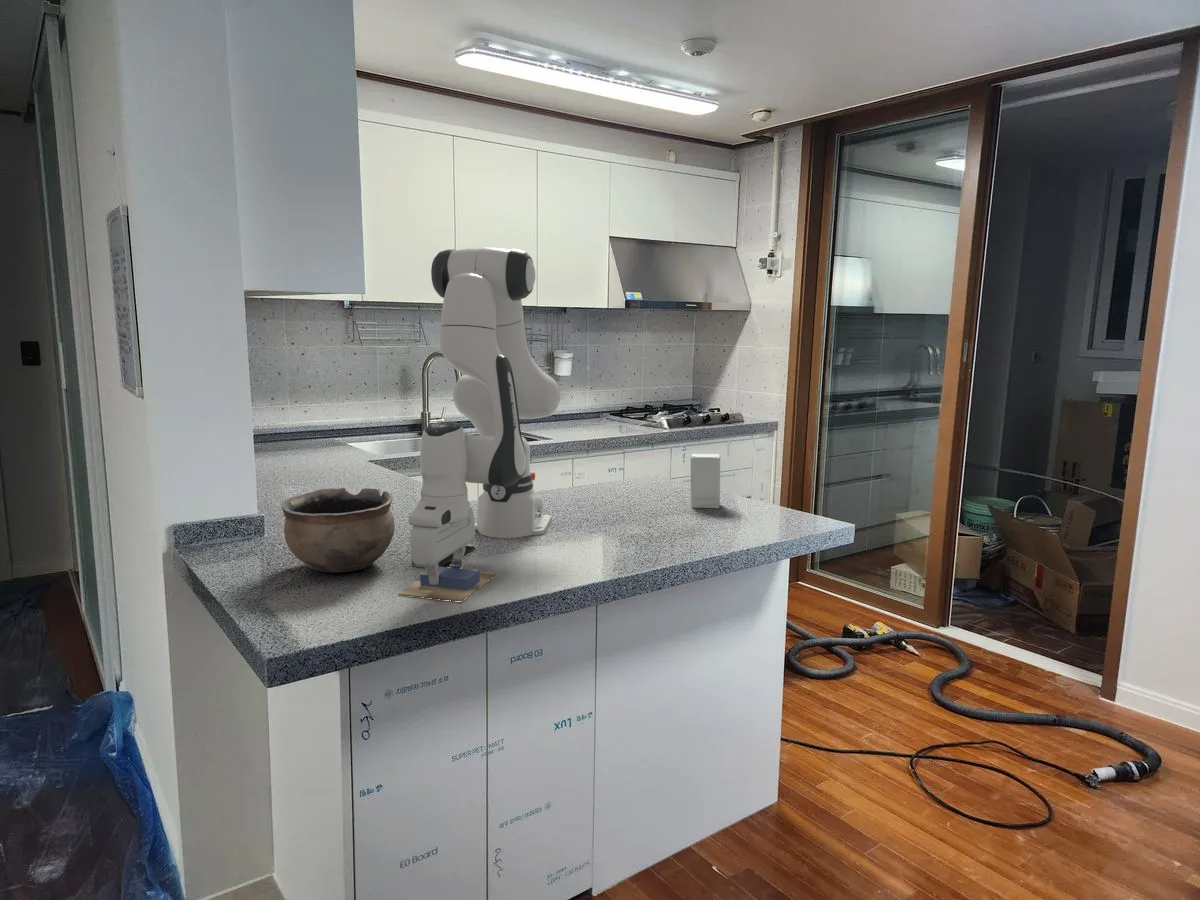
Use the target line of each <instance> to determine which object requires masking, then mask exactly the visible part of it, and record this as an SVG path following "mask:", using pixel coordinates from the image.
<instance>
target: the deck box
mask: <svg viewBox="0 0 1200 900" xmlns="http://www.w3.org/2000/svg"><path fill="white" fill-rule="evenodd" d="M437 570H438V573H439V574H441V581H440V582H439V583H438V584H436V585H433V584H430V583H429V575H428V573H427V571H426V570H425V571H424V572H422V573H420V574H419V575H420V579H419V580H420V585H422V586H431V587H440V588H449V589H458V590H467V591H468V590H469V589H470V588H472V587H473V586H474V585H476V584H477V583H478V582H480V572H481V571H480V570H474V569H466V568H460V569H458V568H452V567H450V566H448V567H439V566H438V567H437Z"/></svg>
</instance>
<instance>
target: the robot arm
mask: <svg viewBox="0 0 1200 900" xmlns="http://www.w3.org/2000/svg"><path fill="white" fill-rule="evenodd" d="M430 270H431V272H430V273H431V275H430V276H431V278H430V279H431V282H432V283H431V284H432V287H433V288H434V290H435V291H434V292H436V293H437V295H438V296H440V298H442V299H443V301H442V308H441V316H440V317H441V318H440V331H439V334H440V335H439V345H440V351H441V354H442V356H443V358H444V360H445V361H446V362H447V364H449V365H450V366H451V367H452V368H453V369H454V370H456V371H458V372H459V373H462V374H464V375H461V376H460V377H459V378H458V380H457V381H456V382H455V384H454V388H453V392H452V398H453V399H452V400H453V403H454V405H455V407H456V409H457V410H458V412H459V413H460V414H461V415H462V416H464V417H465V418H466V419H468V421H470V422H471V424H472V425H473V427H474V428H475V429H476V431H477V433H478V435H475V434H474V435H473V434H468V433H466V432H464V429H463V425H462V424H461V423H458V422H455V421H440V422H433V423H431V424H429V425H427V426H426V427H424V429H423V431H422V435H421V440H420V453H419V467H420V469H419V471H420V475H421V478H422V485H421V489H420V499H419V500H418V503H417V504H416V506H415V507H414V508H413V510H412V511H411V512H410V513H409V515H408V524H409V525H410V526H412V528H411V530H410V537H409V538H410V554H411V562H412V561H413V563H414V565H415V566H414V567H419V568H424V569H425V571H427V573H428V575H429V583H430V584H433V585H436V584H438V583H439V582H440V581H441V574H439V573H438V570H437V567H438V562H440V561H441V560H443V559H445V558H446V557H448V556H449V555H451V554H453V553H454V556H453V560H451V568H458V569H462V567H463V565H464V563H463V562H464V561H463V560H464V558H465V557H464V553H465V546H468V544H470V543H472V542H473V541H474V540H475V537H476V531H478V533H479V534H481V535H482V536H485V537H491V538H498V539H499V538H500V539H504V538H505V539H512V538H523V537H526V536H535V535H537V536H538V535H543V534H545V533H546V531H547V530H548V528H549V526H550V524H551V523H552V520H553V519H552V515H550V514H545V513H544V506H543V505H544V504H543V498H542V497H541V496H540V495H539V494H538V493H537V492H536V491H535V489H533V488H534V481H535V480H536V472H534V471H532V472H531V455H530V454H531V446H530V444H529V442H528V440H527V439H526V438H525V437H524V436H522V432H521V431H522V430H521V423H520V420H535V419H542V418H547V417H551V416H552V415H553V414H554V413H555V412H556V411H557V409H558V408H559V405H560V400H561V392H560V388H559V386H558V383H557V382H556V380H555V379H554V378H553V377H552V376H550V375H549V374H547V373H545V372H544V371H543V370H542V369H541V368H540V366H538V365H537V363H536V361H535V360H534V358H533V357H532V355H531V353H530V350H529V348H528V343H527V338H526V337H527V336H526V331H525V330H526V329H525V321H524V320H525V319H524V308H523V302H522V299H526V298H527V297H528V296H530V295H531V293H532V292H533V289H534V285H535V281H536V268H535V265H534V261H533V258H532V257H531V256H530V254H529V253H528V252H527V251H525V250H521V249H518V248H511V249H508V248H500V247H499V248H498V247H484V246H483V247H478V248H477V247H474V248H464V249H463V248H462V249H455V248H450V249H445V250H441V251H439V252H438V253H437V254H436V256H435V257H434V258H433V260H432V264H431V269H430ZM467 483H470V484H471V483H473V484H482V490H483V492H482V493H481V494H480V495H479V496H478V497H477V517H476V522H475V516H474V511H473V508H472V507H471V505H470V504H471V503H470V501H469V499H468V497H469V494H468V487H467V486H468V485H467ZM463 557H464V558H463Z"/></svg>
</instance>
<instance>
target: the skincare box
mask: <svg viewBox="0 0 1200 900" xmlns="http://www.w3.org/2000/svg"><path fill="white" fill-rule="evenodd" d="M720 504H721V453H692V454H691V457H690V508H691V509H692V508H697V509H720Z"/></svg>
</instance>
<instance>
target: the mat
mask: <svg viewBox="0 0 1200 900" xmlns="http://www.w3.org/2000/svg"><path fill="white" fill-rule="evenodd" d="M495 575H497V574H496V573H493V572H485V571H483V572H482V571H480V582H478V583H477V584H476V585H474V586H473V587H472V588H470V589H469V590H468V591H467V590H458V589H449V588H440V587H431V586H422V585H420V579H418V580H417V581H415V582H414V583H412V584H410V585H408V586H407V587H406V588H404V589H403V590H401V591H400V592H398V593H397V596H399V595H401V597H407V596H413V597H412V598H416V597H424V598H423V599H425V598H432V599H431V600H433V599H440V600H439V601H442V600H449V601H448V602H450V600H451V601H462V600H464V599H465V598H466V597H468V596H469V595H470V594H472V593H473V592H474V591H475V590H477V589H478V588H479V587H480V586H482V585H483V584H484V583H486V582H487V581H488V580H490V579H491V578H492V577H493V578H495V577H496V576H495ZM494 576H495V577H494ZM493 578H492V579H493ZM492 579H491V580H492ZM491 580H490V581H491ZM488 582H489V581H488ZM488 582H487V583H488ZM487 583H486V584H487ZM484 585H485V584H484ZM484 585H483V586H484ZM483 586H482V587H483ZM479 589H480V588H479ZM479 589H478V590H479ZM478 590H477V591H478ZM474 593H475V592H474ZM474 593H473V594H474ZM473 594H472V595H473ZM470 596H471V595H470ZM470 596H469V597H470ZM469 597H468V598H469ZM465 600H466V599H465ZM465 600H464V601H465Z"/></svg>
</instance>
